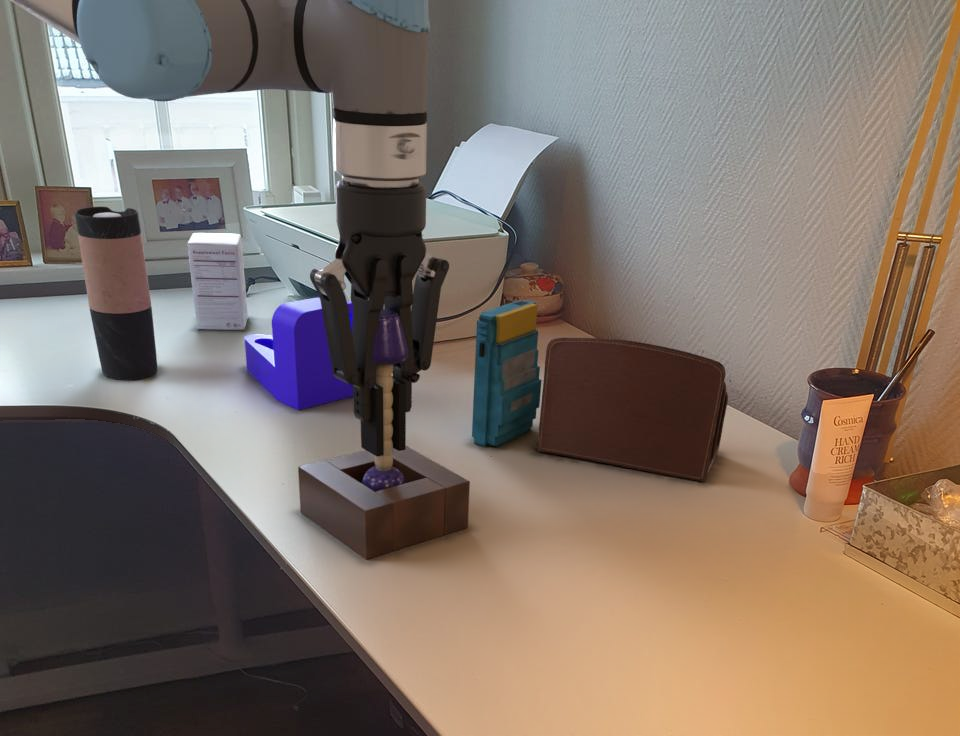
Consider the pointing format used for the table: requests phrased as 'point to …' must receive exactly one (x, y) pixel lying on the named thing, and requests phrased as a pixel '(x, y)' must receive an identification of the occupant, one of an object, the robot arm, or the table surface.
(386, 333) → the toy lamp
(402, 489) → the socket base
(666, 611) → the table surface
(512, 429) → the handheld gaming console
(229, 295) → the white packaging box
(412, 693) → the table surface
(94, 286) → the travel mug
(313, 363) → the bracket
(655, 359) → the letter holder
